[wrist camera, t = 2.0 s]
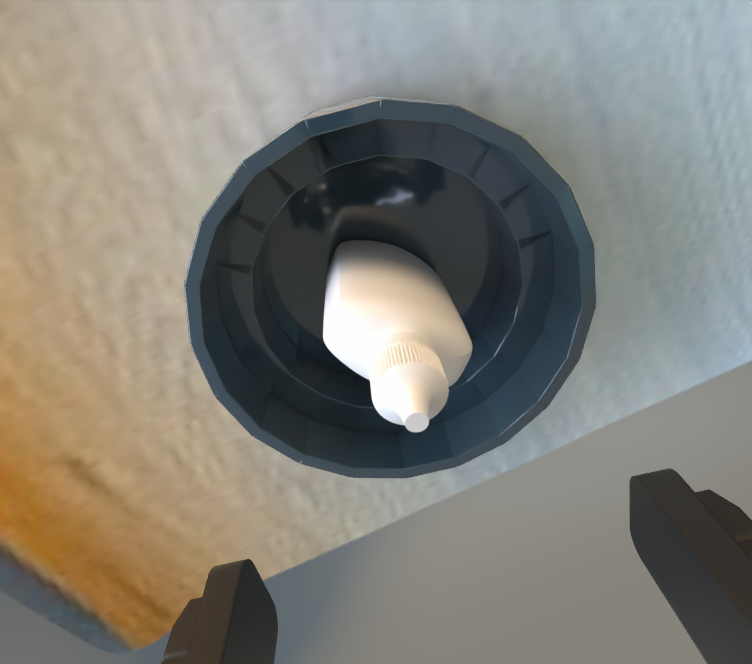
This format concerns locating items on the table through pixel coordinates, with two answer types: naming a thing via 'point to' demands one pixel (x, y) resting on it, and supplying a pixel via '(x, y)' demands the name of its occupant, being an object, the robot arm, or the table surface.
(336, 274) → the eye dropper bottle
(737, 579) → the robot arm
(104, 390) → the table surface
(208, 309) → the bowl
